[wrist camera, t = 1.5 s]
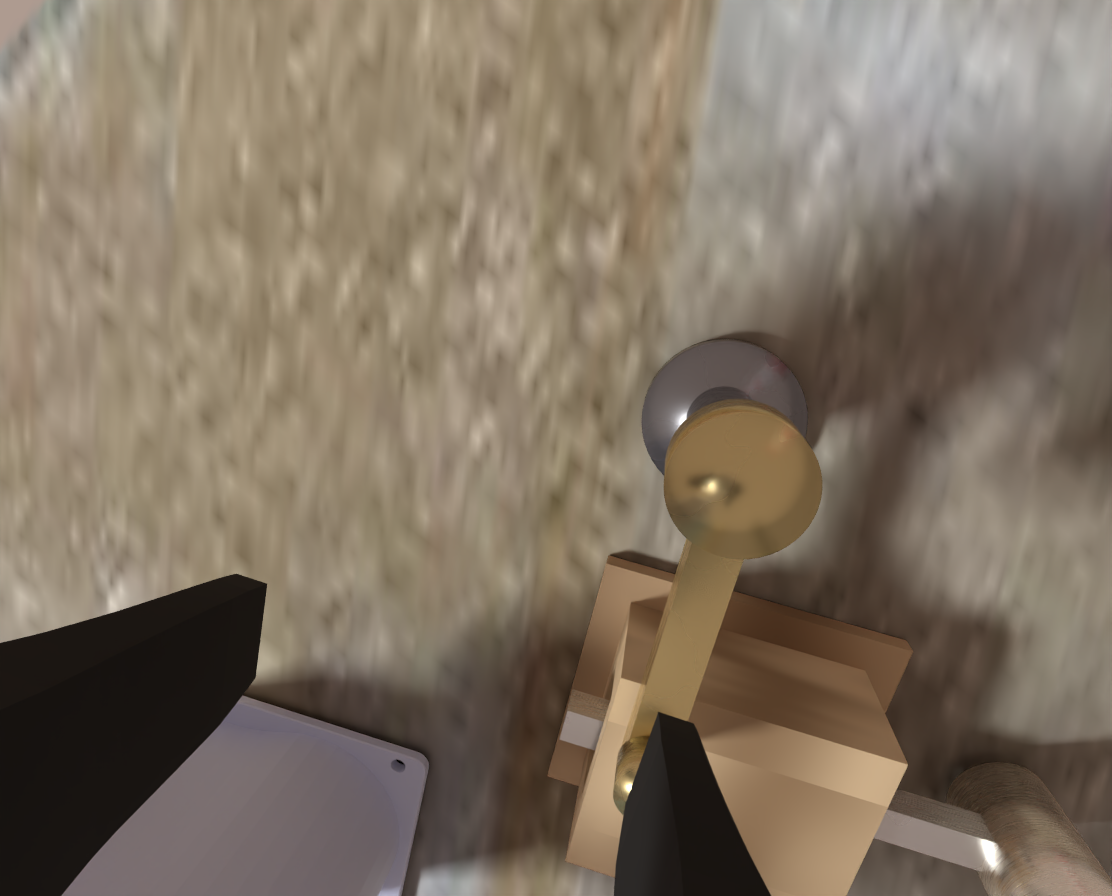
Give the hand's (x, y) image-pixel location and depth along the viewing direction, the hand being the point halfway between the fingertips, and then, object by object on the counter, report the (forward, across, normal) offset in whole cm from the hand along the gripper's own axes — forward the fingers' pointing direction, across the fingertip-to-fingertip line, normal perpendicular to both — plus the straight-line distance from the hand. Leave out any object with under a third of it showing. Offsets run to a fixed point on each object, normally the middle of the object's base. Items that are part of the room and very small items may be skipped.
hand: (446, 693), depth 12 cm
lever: (+5, -4, -1) cm, 6 cm away
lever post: (+10, -4, -4) cm, 11 cm away
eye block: (+9, -7, +5) cm, 13 cm away
